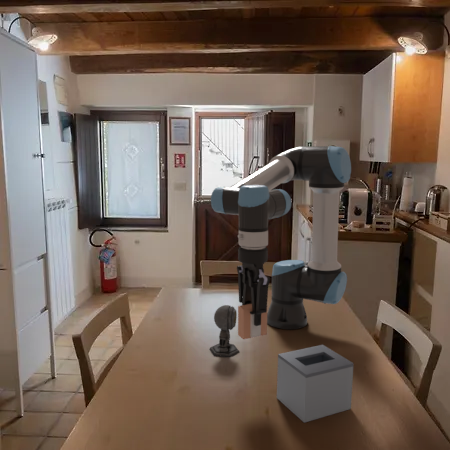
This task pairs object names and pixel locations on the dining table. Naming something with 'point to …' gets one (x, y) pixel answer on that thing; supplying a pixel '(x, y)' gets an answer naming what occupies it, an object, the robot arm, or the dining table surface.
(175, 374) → the dining table surface
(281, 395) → the coin box
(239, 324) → the peach rectangular block
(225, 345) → the figurine
